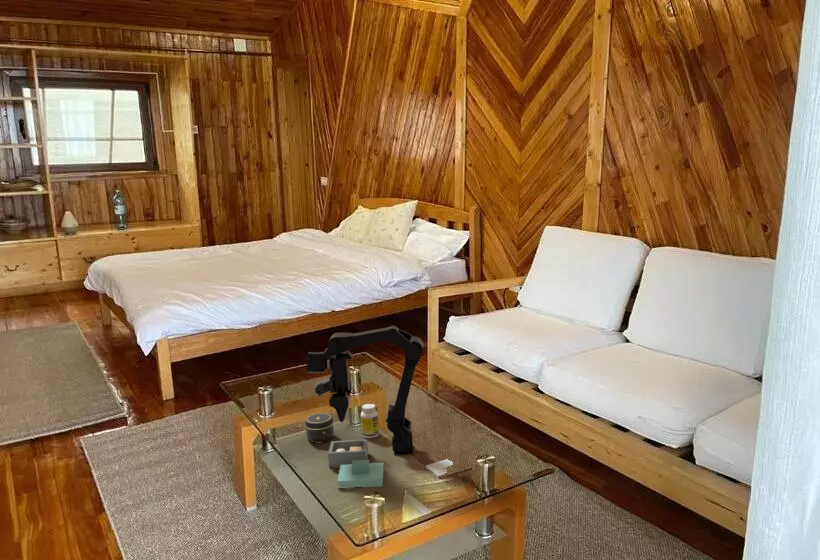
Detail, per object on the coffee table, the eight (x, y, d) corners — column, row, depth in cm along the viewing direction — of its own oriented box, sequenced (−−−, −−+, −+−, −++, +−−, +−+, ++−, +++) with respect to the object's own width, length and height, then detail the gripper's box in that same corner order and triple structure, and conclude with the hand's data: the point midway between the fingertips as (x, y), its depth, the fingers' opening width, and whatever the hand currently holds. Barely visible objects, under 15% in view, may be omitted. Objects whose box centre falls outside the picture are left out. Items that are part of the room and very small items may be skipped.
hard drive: (459, 454, 199) (425, 464, 193) (472, 464, 192) (438, 475, 186) (459, 459, 199) (425, 469, 194) (473, 469, 192) (438, 480, 186)
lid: (383, 469, 194) (382, 453, 193) (382, 486, 183) (381, 469, 183) (341, 472, 194) (340, 455, 193) (337, 488, 183) (336, 471, 182)
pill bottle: (376, 439, 216) (374, 409, 215) (359, 438, 218) (357, 409, 216) (381, 431, 222) (379, 403, 220) (364, 431, 224) (362, 402, 222)
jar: (312, 446, 213) (310, 425, 212) (302, 436, 222) (300, 416, 221) (338, 439, 218) (337, 419, 217) (328, 429, 227) (326, 410, 225)
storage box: (368, 453, 206) (367, 439, 205) (366, 465, 197) (365, 451, 196) (332, 455, 206) (331, 441, 205) (329, 467, 197) (328, 453, 196)
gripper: (318, 364, 211) (321, 407, 214) (311, 382, 193) (315, 429, 195) (350, 362, 211) (353, 405, 214) (346, 380, 193) (350, 427, 196)
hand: (342, 416), depth 205 cm, fingers open, 9 cm apart
